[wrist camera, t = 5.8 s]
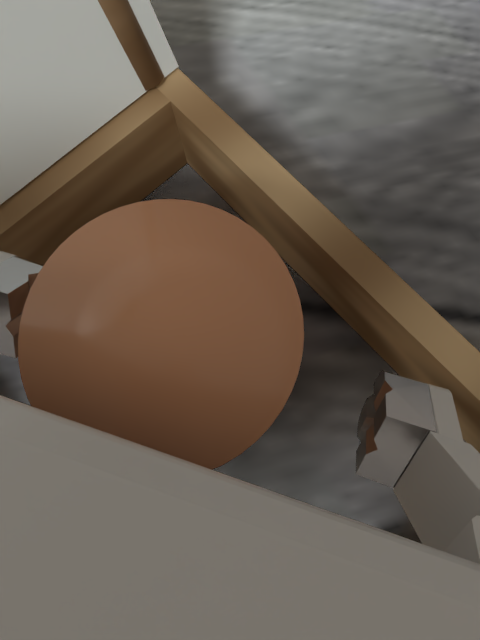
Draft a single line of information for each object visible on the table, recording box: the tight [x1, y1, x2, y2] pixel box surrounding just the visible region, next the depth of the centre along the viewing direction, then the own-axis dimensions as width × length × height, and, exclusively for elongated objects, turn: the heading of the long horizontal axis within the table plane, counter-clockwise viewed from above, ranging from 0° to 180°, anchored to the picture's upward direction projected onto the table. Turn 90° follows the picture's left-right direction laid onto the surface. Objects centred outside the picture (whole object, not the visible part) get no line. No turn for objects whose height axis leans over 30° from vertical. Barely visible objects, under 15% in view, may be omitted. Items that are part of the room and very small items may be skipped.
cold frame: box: [0, 0, 480, 453], centre depth 11 cm, size 21×15×10 cm
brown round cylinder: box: [18, 199, 304, 470], centre depth 12 cm, size 5×5×8 cm
